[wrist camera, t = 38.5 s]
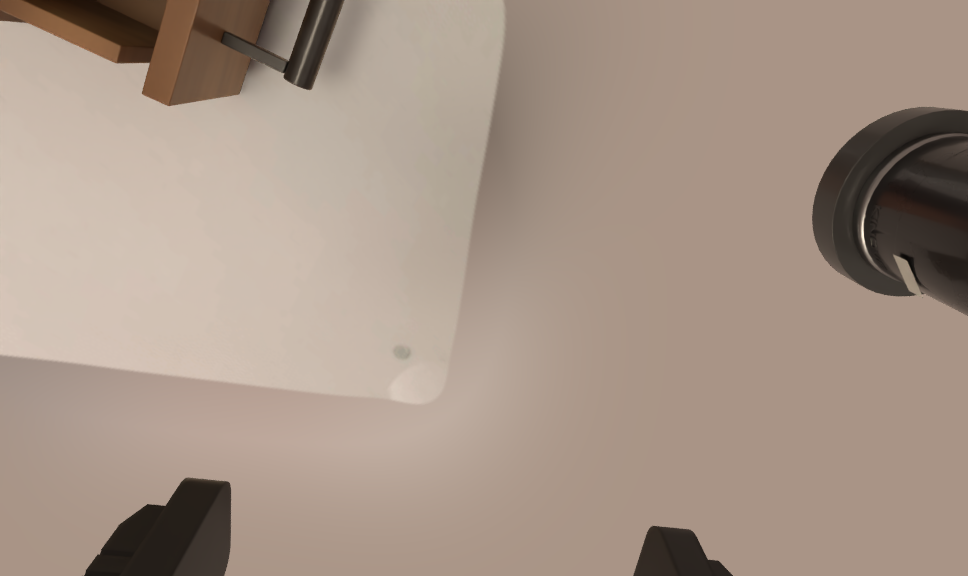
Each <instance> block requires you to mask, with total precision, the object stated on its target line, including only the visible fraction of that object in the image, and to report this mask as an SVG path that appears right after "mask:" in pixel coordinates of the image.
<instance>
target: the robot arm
mask: <svg viewBox="0 0 968 576" xmlns="http://www.w3.org/2000/svg"><path fill="white" fill-rule="evenodd" d="M853 235H854V240H855V243H856V246H857V249H858V251H859V253H860V254H861V256H862V258H863V259H864V260H865V261H866V262H867V263H868V264H869V265H870V266H871V267H872V268H873V269H875V270H876V271H878V272H880V273H882V274H884V275H886V276H888V277H890V278H892V279H894V280H897V281H900V282H903V283H905V284H906V285H907V288H908V290H909V291H910V292H912V293H914V294H916V295H918V296H920V297H922V294H921V292H922V293H924V294H926V295H928V296H930V297H932V298H934V299H936V300H938V301H940V302H942V303H944V304H946V305H948V306H950V307H952V308H954V309H956V310H958V311H959V312H961V313H963V314H965V315H967V316H968V134H963V133H956V132H942V133H935V134H930V135H926V136H923V137H920V138H917V139H915V140H913V141H911V142H909V143H907V144H905V145H903V146H902V147H900V148H898V149H897V150H896V151H894V152H893V153H892V154H890V155H889V156H888V157H887V158H886V159H885V160H883V161H882V162H881V163H880V164H879V166H878V167H877V168H876V169H875V170H874V171H873V173H872V174H871V175H870V177H869V178H868V180H867V181H866V183H865V184H864V186H863V188H862V190H861V192H860V195H859V197H858V200H857V203H856V206H855V210H854V216H853ZM922 298H923V297H922ZM230 536H231V487H230V483H229V482H226V481H215V480H206V479H196V478H185V479H184V480H183V481H182V482H181V483H180V485H179V486H178V488H177V489H176V491H175V492H174V494H173V495H172V497H171V498H170V500H169V502H168V503H167V505H166V506H160V505H149V504H147V505H146V506H144V507H143V508H142V509H141V510H139V511H138V512H136V513H135V514H134V515H132V516H131V517H129V518H128V519H126V520H125V521H124V522H123V523H121V524H120V525H119V526H118V528H117V529H116V530H115V531H114V533H113V534H112V536H111V537H110V538H109V540H108V541H107V543H106V544H105V545H104V547H103V548H102V549H101V553H100V555H97V556H96V557H95V559H94V560H93V562H92V563H91V564H90V566H89V567H88V568H87V570H86V573H85V575H84V576H224V574H225V571H226V567H227V564H228V559H229V553H230V538H231V537H230ZM634 576H733V575H732V574H731V573H730V572H729V571H728V570H727V569H726V568H725V567H724V566H723V565H722V564H721V563H720V562H719V561H715V560H708V559H707V557H706V555H705V553H704V551H703V549H702V547H701V545H700V543H699V541H698V539H697V537H696V535H695V534H694V532H693V531H691V530H689V529H679V528H668V527H659V526H658V527H657V526H652V527H651V528H650V529H649V530H648V532H647V535H646V538H645V541H644V544H643V547H642V550H641V553H640V557H639V560H638V563H637V566H636V569H635V573H634Z"/></svg>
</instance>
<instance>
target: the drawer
mask: <svg viewBox="0 0 968 576" xmlns="http://www.w3.org/2000/svg"><path fill="white" fill-rule="evenodd" d="M269 2H270V0H0V10H1V11H3V12H5V13H8V14H10V15H12V16H14V17H16V18H18V19H21V20H23V21H25V22H27V23H29V24H32V25H34V26H36V27H38V28H40V29H42V30H45V31H47V32H49V33H51V34H53V35H55V36H58V37H60V38H62V39H64V40H66V41H68V42H71V43H73V44H75V45H77V46H79V47H82V48H84V49H86V50H88V51H90V52H92V53H95V54H97V55H99V56H101V57H103V58H105V59H108V60H110V61H112V62H114V63H150V65H149V69H148V72H147V76H146V80H145V83H144V87H143V91H142V94H143V95H145V96H147V97H149V98H152V99H154V100H156V101H158V102H161V103H163V104H165V105H167V106H172V105H178V104H184V103H190V102H196V101H202V100H208V99H214V98H220V97H226V96H232V95H238V94H239V93H240V90H241V87H242V84H243V81H244V78H245V75H246V72H247V69H248V66H249V63H250V60H251V58H252V59H254V60H256V61H259V62H261V63H263V64H265V65H267V66H269V67H271V68H273V69H275V70H277V71H279V72H281V73H285V74H284V79H285V80H287V81H288V82H290V83H292V84H294V85H296V86H298V87H301V88H303V89H307V90H311V89H312V87H313V84H314V82H315V79H316V76H317V74H318V71H319V68H320V65H321V63H322V60H323V57H324V55H325V52H326V49H327V46H328V44H329V41H330V38H331V35H332V33H333V30H334V27H335V25H336V22H337V19H338V16H339V14H340V11H341V8H342V5H343V3H344V0H310V2H309V5H308V8H307V11H306V14H305V16H304V19H303V22H302V25H301V28H300V31H299V34H298V36H297V39H296V42H295V45H294V48H293V51H292V54H291V56H290V59H289V61H288V60H286V59H284V58H282V57H280V56H278V55H276V54H274V53H272V52H270V51H268V50H266V49H264V48H261V47H259V46H257V45H256V41H257V38H258V35H259V32H260V29H261V26H262V23H263V20H264V17H265V14H266V11H267V8H268V5H269Z"/></svg>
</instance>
